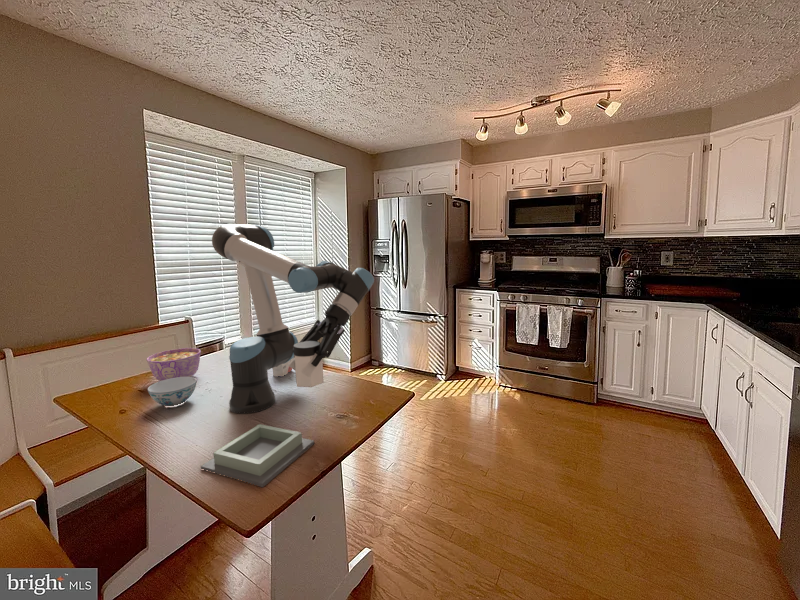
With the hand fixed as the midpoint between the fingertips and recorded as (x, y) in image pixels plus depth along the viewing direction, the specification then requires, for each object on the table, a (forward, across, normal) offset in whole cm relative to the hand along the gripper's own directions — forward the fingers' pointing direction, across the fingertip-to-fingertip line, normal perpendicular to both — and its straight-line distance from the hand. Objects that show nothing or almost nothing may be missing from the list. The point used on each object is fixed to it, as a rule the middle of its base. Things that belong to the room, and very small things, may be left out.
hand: (298, 371), depth 110 cm
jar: (+1, 0, -6) cm, 6 cm away
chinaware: (+30, +51, +4) cm, 60 cm away
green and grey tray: (+24, -5, -2) cm, 24 cm away
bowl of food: (+26, +80, -1) cm, 84 cm away
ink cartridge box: (0, +53, -26) cm, 59 cm away
